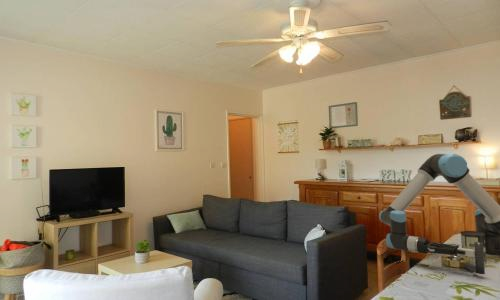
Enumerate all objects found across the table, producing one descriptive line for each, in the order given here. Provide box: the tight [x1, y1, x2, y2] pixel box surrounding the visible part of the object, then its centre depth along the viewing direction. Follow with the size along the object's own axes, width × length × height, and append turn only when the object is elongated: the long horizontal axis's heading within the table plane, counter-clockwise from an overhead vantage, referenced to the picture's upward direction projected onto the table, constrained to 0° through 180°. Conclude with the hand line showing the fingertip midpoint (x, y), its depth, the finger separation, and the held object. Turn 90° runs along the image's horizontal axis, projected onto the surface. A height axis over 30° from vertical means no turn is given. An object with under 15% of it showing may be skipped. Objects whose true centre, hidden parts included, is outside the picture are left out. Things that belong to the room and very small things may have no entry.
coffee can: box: [460, 230, 487, 265], centre depth 169 cm, size 10×10×14 cm
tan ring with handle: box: [440, 242, 486, 275], centre depth 156 cm, size 21×12×13 cm, turn 10°
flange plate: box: [428, 254, 477, 277], centre depth 160 cm, size 18×20×6 cm
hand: (474, 253), depth 149 cm, fingers closed
